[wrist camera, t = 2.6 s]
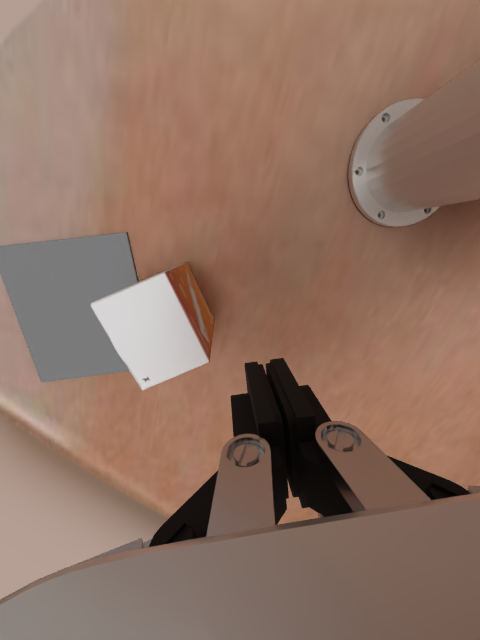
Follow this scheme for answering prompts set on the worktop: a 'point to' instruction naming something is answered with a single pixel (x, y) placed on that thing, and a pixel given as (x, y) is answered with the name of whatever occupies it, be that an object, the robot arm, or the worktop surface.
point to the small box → (159, 325)
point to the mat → (67, 301)
